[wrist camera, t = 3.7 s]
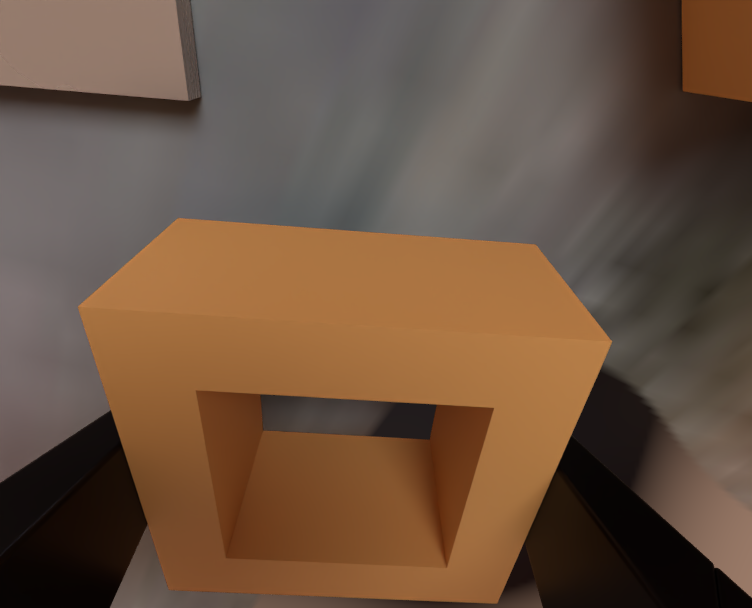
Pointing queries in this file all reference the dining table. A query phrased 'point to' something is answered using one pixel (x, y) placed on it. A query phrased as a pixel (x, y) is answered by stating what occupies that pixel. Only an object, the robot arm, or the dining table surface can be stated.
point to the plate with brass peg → (100, 47)
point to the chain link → (717, 48)
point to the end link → (340, 381)
